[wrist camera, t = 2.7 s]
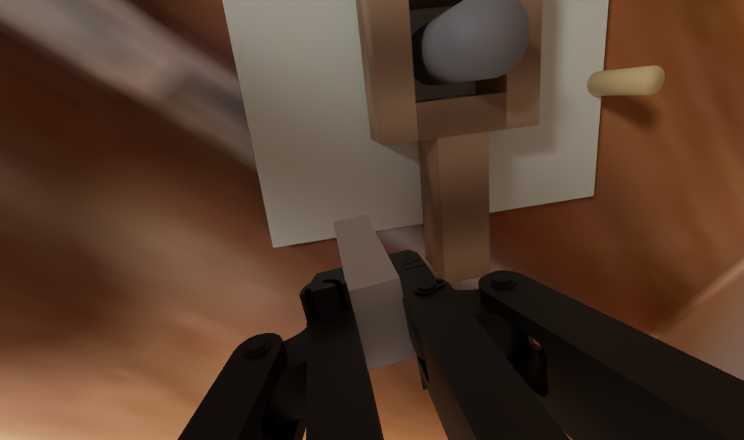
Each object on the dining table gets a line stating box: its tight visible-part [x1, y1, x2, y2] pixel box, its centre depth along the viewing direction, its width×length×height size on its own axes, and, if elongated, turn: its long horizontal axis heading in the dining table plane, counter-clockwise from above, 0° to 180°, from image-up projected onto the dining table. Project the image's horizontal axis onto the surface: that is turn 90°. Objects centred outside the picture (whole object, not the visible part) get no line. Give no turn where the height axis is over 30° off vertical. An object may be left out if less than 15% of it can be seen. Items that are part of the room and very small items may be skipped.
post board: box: [222, 0, 665, 248], centre depth 21 cm, size 24×22×9 cm
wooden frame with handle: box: [356, 0, 543, 283], centre depth 23 cm, size 18×9×4 cm, turn 6°
